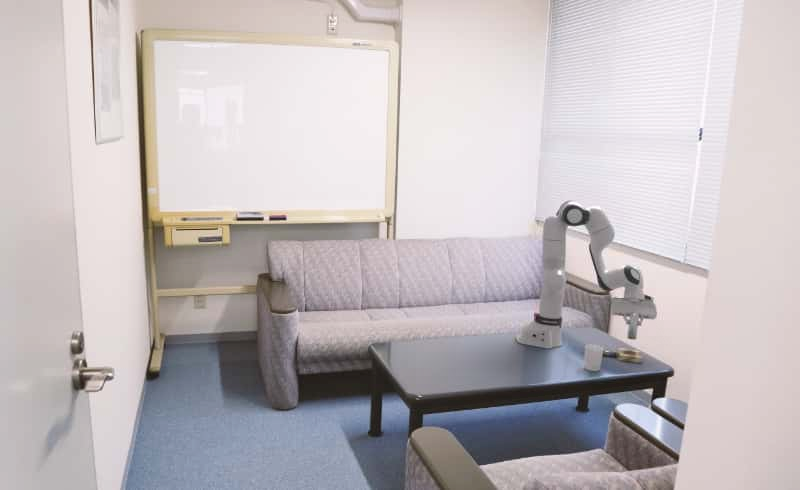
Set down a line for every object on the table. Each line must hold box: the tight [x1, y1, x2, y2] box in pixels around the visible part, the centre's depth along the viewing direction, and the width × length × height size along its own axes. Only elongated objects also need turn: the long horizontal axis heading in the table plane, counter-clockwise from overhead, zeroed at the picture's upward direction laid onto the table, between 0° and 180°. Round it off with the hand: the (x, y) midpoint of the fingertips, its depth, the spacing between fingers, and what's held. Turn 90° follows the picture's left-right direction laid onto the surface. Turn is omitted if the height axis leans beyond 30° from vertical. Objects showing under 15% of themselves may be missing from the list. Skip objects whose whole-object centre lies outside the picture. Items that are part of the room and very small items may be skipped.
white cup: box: [583, 343, 604, 372], centre depth 270 cm, size 8×8×10 cm
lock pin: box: [602, 350, 618, 358], centre depth 288 cm, size 8×2×2 cm
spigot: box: [626, 312, 640, 340], centre depth 284 cm, size 4×4×12 cm
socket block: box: [616, 347, 643, 364], centre depth 287 cm, size 10×10×2 cm
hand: (633, 324), depth 283 cm, fingers closed on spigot, 4 cm apart
